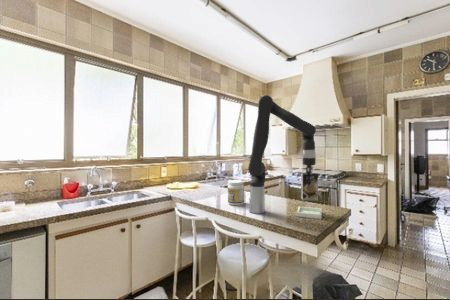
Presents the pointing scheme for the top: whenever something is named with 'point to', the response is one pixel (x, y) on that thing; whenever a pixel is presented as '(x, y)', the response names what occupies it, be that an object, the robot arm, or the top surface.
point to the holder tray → (309, 212)
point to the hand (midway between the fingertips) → (309, 183)
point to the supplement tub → (236, 192)
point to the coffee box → (309, 187)
